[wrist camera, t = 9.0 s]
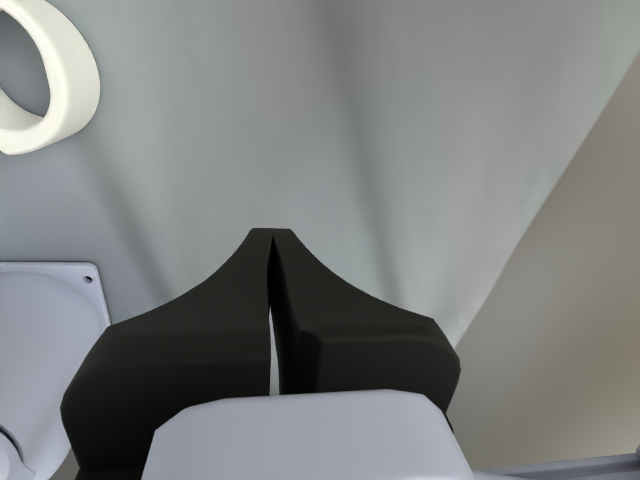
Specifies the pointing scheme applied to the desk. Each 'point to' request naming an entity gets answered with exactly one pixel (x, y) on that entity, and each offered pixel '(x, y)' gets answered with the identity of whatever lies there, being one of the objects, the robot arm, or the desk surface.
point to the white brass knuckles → (51, 81)
